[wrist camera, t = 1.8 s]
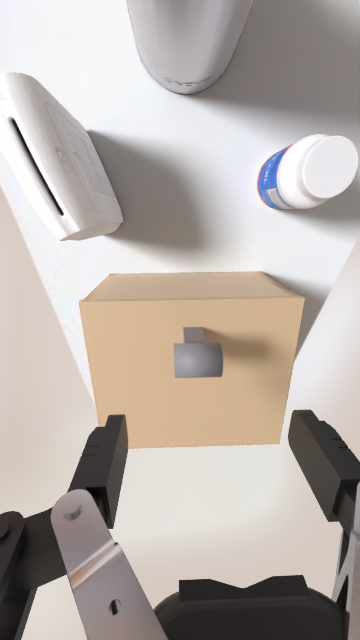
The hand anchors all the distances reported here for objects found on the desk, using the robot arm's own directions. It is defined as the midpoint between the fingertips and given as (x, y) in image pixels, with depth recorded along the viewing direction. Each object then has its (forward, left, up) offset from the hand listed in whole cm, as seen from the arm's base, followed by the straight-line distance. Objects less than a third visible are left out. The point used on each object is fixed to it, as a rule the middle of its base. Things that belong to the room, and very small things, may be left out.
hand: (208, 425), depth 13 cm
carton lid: (+5, 0, -11) cm, 12 cm away
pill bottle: (-13, +10, -21) cm, 27 cm away
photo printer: (-13, -10, -21) cm, 27 cm away
